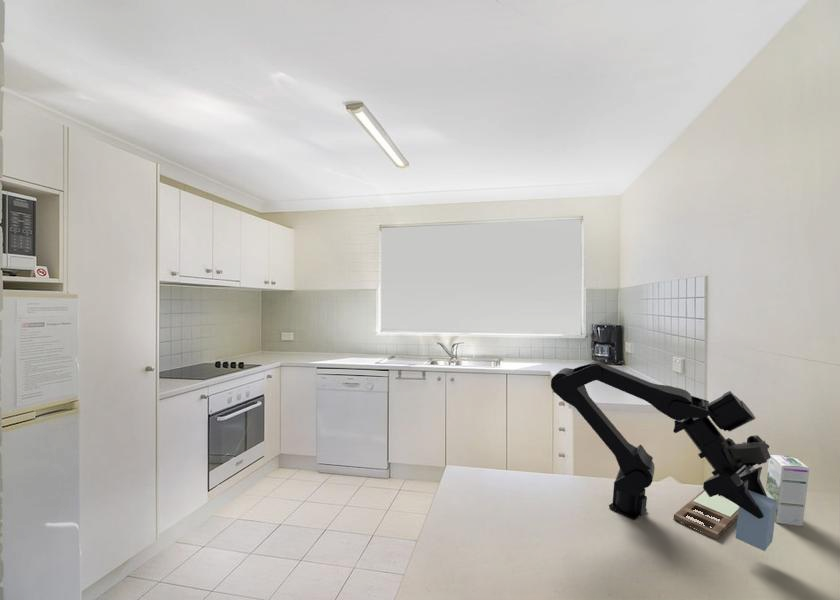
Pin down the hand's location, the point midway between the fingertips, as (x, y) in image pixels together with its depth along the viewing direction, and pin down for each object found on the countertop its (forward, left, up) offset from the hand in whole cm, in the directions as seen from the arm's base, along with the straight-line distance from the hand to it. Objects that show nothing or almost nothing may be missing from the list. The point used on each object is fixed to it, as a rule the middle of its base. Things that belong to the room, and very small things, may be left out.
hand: (765, 513), depth 90 cm
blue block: (-1, 0, -7) cm, 7 cm away
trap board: (-12, +10, -11) cm, 19 cm away
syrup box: (-1, +23, -11) cm, 25 cm away
